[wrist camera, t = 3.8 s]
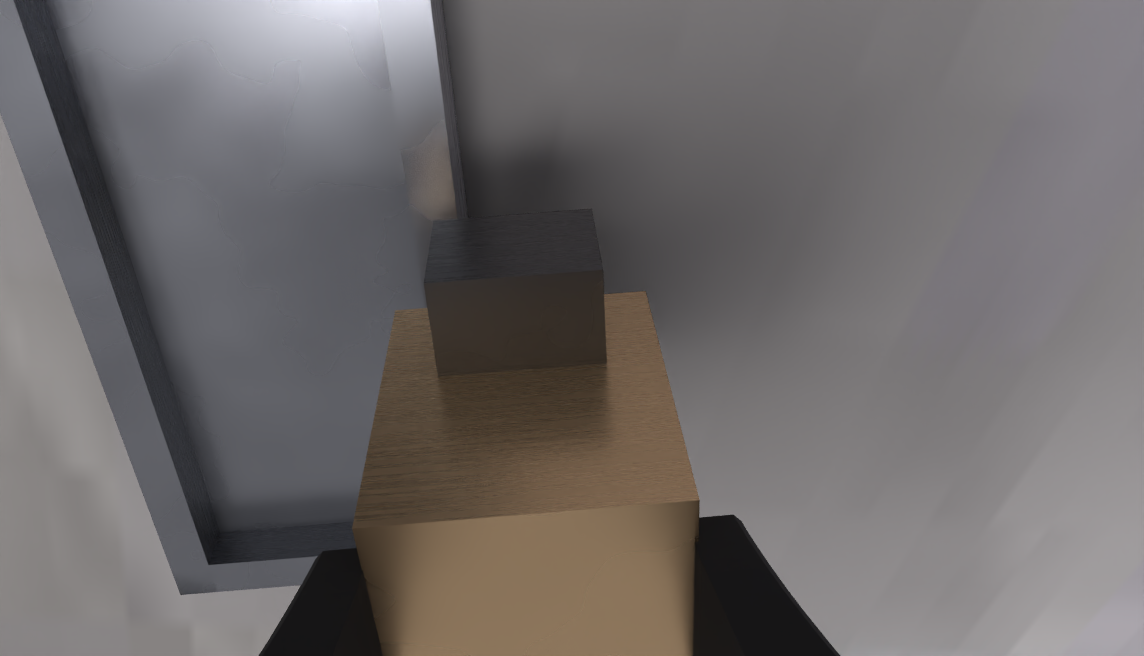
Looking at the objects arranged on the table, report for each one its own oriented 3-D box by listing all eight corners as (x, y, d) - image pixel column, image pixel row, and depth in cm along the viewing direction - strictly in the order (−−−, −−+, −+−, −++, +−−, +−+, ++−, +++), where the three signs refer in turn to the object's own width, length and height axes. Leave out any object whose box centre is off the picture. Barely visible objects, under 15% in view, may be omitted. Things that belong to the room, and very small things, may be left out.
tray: (362, -663, 13) (337, -736, 11) (502, 501, 23) (502, 568, 21) (-182, -634, 12) (-305, -704, 10) (207, 524, 23) (180, 595, 21)
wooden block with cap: (643, 204, 15) (701, 394, 10) (648, 483, 17) (694, 722, 13) (380, 224, 14) (327, 423, 10) (428, 501, 17) (402, 747, 13)
